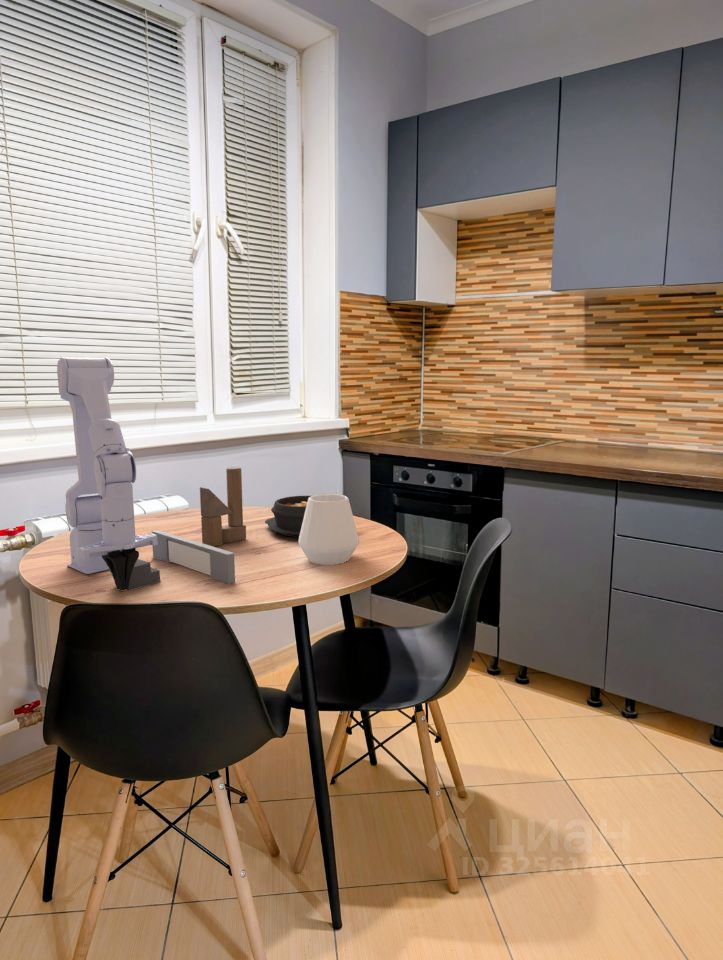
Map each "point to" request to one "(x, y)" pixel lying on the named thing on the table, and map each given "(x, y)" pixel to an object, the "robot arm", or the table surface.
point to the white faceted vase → (328, 530)
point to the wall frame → (219, 558)
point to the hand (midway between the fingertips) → (122, 588)
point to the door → (189, 556)
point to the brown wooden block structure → (223, 512)
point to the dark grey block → (143, 575)
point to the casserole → (288, 515)
